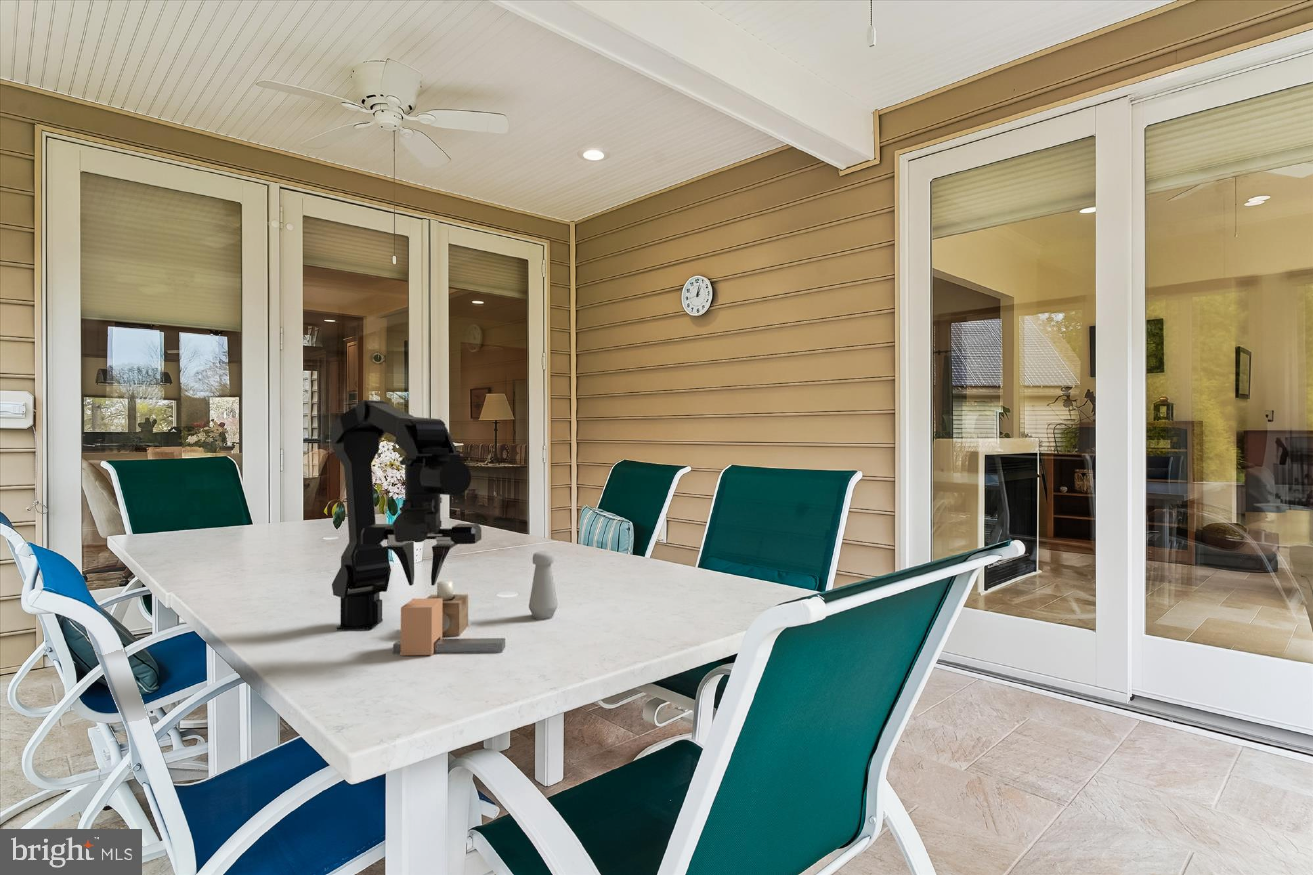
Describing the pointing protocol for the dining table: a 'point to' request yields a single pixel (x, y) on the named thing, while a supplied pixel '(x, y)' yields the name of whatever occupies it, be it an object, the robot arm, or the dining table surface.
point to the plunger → (445, 590)
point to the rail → (463, 645)
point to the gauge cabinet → (454, 614)
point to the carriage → (421, 626)
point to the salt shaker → (543, 587)
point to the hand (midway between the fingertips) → (422, 585)
